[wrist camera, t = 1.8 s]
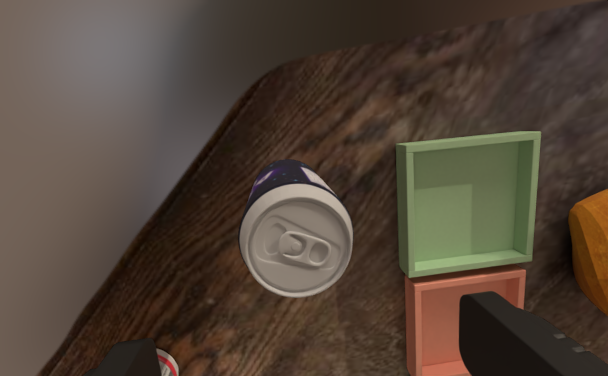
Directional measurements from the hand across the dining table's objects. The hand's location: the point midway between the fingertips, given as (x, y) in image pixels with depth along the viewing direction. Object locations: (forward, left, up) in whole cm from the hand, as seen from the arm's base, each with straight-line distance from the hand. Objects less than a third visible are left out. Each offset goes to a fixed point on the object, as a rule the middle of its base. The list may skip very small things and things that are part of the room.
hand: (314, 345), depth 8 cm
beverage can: (0, 0, -18) cm, 18 cm away
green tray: (+2, +15, -18) cm, 24 cm away
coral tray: (+14, +15, -18) cm, 27 cm away
